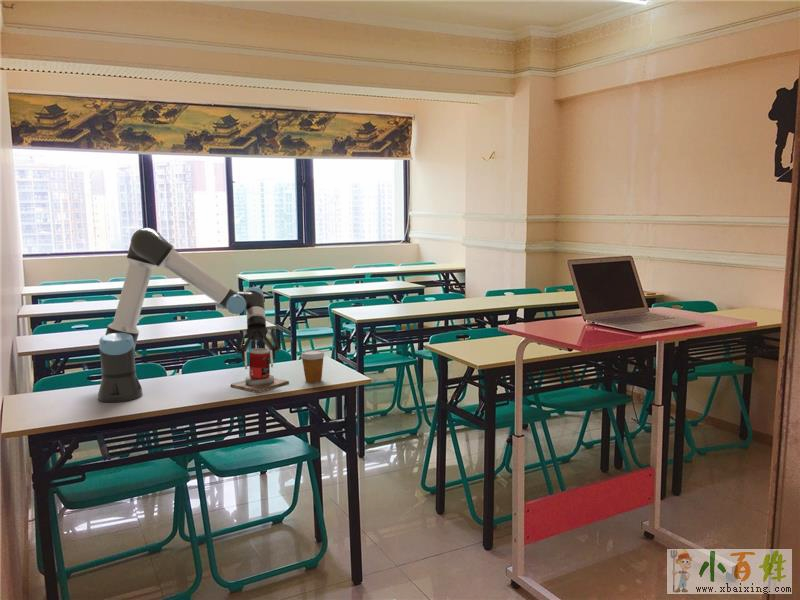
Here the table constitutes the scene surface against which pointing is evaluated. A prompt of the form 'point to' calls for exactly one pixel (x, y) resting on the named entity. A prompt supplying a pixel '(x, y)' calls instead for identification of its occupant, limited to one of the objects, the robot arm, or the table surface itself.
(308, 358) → the disposable coffee cup
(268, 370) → the canned food
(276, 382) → the seat plate
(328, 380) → the table surface
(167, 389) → the table surface
